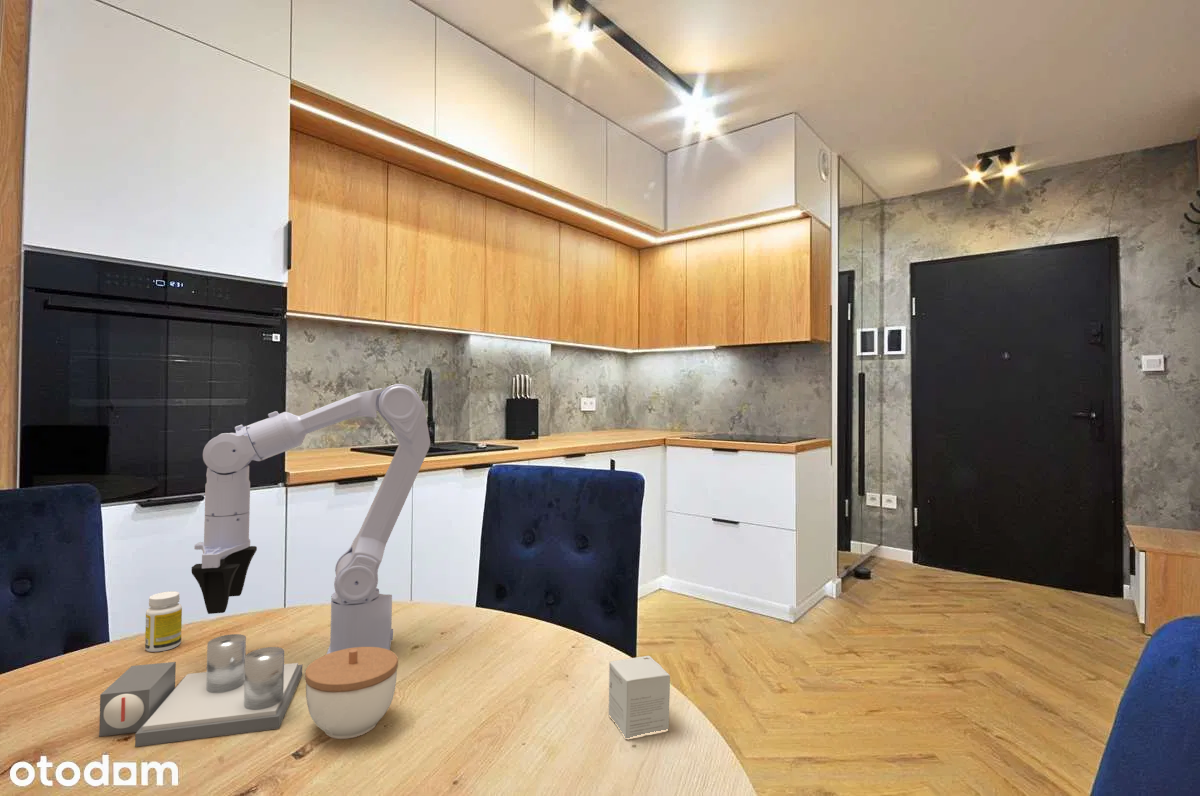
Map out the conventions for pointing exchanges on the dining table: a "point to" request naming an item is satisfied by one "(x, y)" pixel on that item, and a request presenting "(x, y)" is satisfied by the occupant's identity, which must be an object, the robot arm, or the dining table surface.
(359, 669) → the lidded jar
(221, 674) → the cylinder
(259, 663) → the cylinder
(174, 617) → the supplement bottle
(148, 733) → the scale
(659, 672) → the product box
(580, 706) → the dining table surface
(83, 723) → the dining table surface
